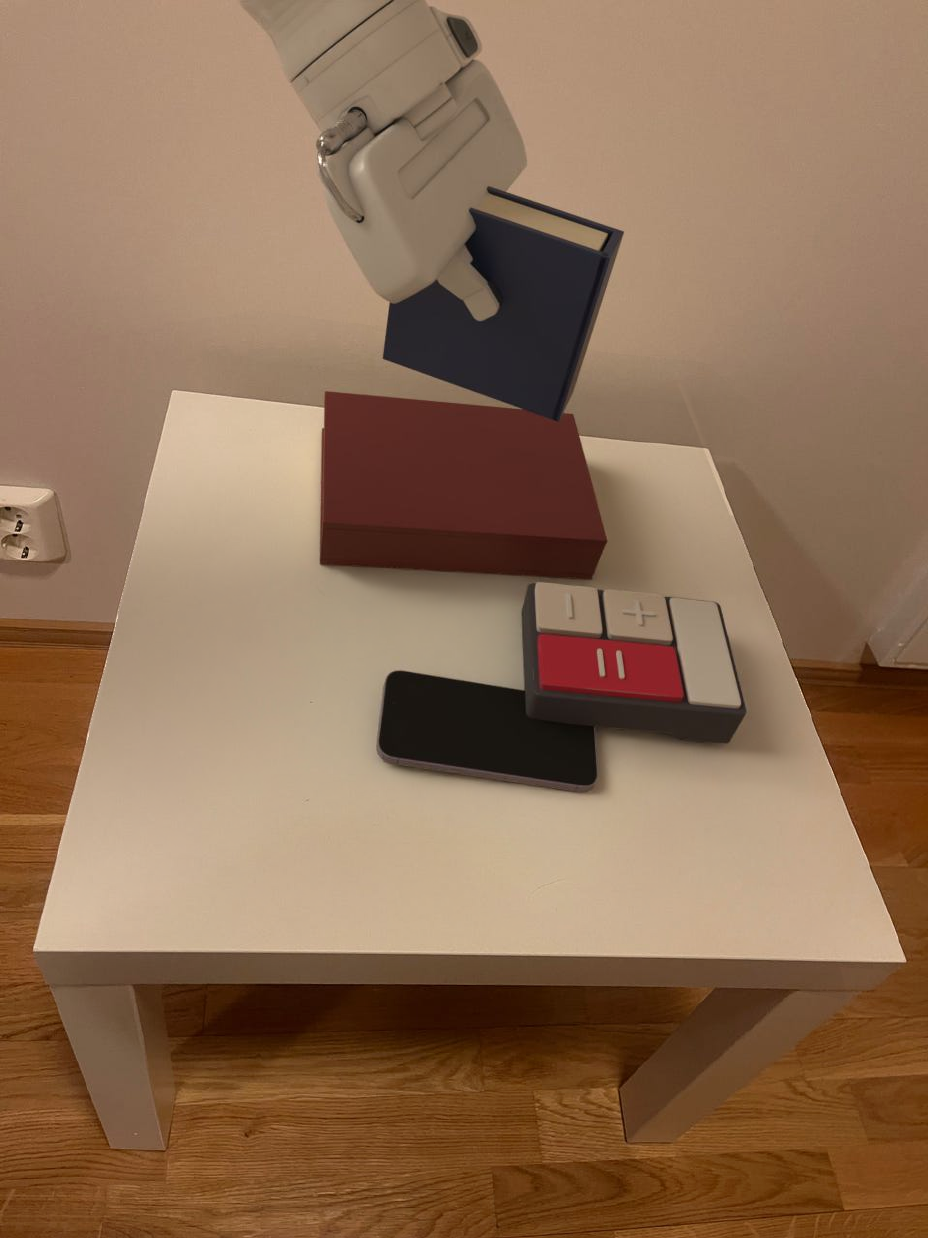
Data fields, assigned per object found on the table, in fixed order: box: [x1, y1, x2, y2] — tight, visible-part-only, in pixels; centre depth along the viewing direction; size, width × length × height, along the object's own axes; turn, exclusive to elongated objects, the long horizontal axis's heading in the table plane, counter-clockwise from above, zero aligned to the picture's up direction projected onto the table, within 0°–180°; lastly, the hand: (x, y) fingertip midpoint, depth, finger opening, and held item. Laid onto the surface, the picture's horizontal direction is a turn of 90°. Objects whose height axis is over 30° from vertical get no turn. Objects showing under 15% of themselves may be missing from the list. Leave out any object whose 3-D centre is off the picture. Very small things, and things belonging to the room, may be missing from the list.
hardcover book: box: [382, 186, 625, 422], centre depth 60 cm, size 4×13×12 cm, turn 71°
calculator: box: [521, 581, 748, 744], centre depth 66 cm, size 11×4×15 cm
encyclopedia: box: [319, 390, 608, 580], centre depth 76 cm, size 22×16×4 cm
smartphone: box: [375, 669, 599, 793], centre depth 62 cm, size 7×1×15 cm
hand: (504, 293), depth 59 cm, fingers closed on hardcover book, 4 cm apart
